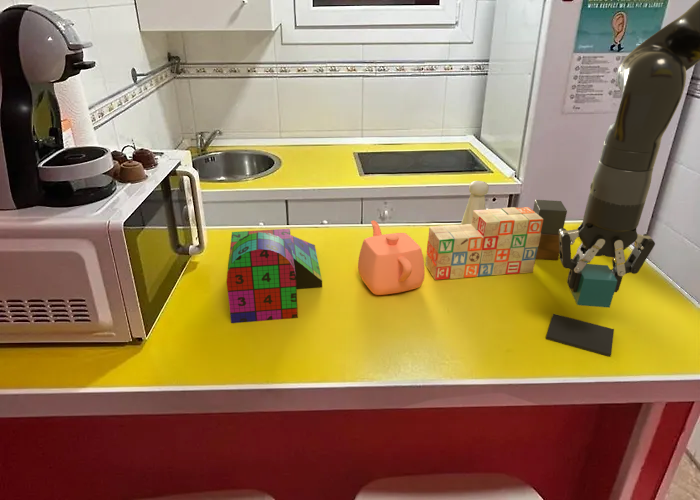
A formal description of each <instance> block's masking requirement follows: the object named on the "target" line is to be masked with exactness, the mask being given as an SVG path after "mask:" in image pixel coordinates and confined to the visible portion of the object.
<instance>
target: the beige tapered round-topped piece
mask: <svg viewBox="0 0 700 500" xmlns="http://www.w3.org/2000/svg"><path fill="white" fill-rule="evenodd" d="M468 192H469V193H470V195H469V198H468V202H467V204H466V207H465V211H464V213H463V217H462V219H461V223H460V225H465V224H471V221H472V215H473V210H486V197H485V195H487V194H488V192H489V184H488V183H487V182H486V181H482V180H474V181H471V182H470V183H469V186H468Z"/></svg>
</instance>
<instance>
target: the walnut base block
mask: <svg viewBox="0 0 700 500" xmlns="http://www.w3.org/2000/svg"><path fill="white" fill-rule="evenodd" d="M559 259H560V254H559V235H558V234H541V237H540V241H539V246H538V249H537V253H536V258H535V260H547V261H559Z"/></svg>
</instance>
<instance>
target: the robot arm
mask: <svg viewBox="0 0 700 500" xmlns="http://www.w3.org/2000/svg"><path fill="white" fill-rule="evenodd" d="M699 62H700V0H697V1H696V2H695V3H694V4H693V5H691V6H690V7H689V8H688V9H687V10H686V11H685V12H684V13H683V14H681V15H680V16H679V17H677V18H676V19H673V21H671V22H669V23H668V24H667V25H665V26H663V27H662V28H661V29H659V30H658V31H656V32H655V33H654V34H652V35H651V36H650V37H648V38H647V39H645V40H644V41H642V43H640V44H639V45H637V46H636V47H635V48H634V49H633V50H632V51H631V52H630V53H628V54H627V56H626V57H625V58H624V59H623V60H622V62H621V63H620V65H619V67H618V70H617V72H616V84H617V87H618V89H619V91H620V93H621V98H620V102H619V106H618V110H617V113H616V117H615V120H614V121H613V122H612V123H611V124H610V125H609V127H608V129H607V132H606V133H605V137H604V141H603V145H602V148H601V153H600V157H599V160H598V164H597V166H596V168H595V172H594V173H593V177H592V181H591V183H590V186H589V194H588V198H587V202H586V205H585V210H584V212H583V213H584V214H583V219H582V222H581V223H580V225H579V226H578V227H577V228H576V229H568V230H567V229H566V228H561V229H560V230H559V232H558V233H559V260H560V263H561V265H562V267H563V268H564V269H566V270H567V269H569V271H568V275H567V279H566V284H567V286H568V288H569V290H570V289H571V291H572V292H577V290H578V286H579V282H580V278H581V275H582V273H581V271H582V270H583V268H584V267H585V266H586V264H591V262H592V261H593V260H594V258H595V257H607V258H610V259H611V265H612V268H610V270H611V271H612V273H613V275H614V276H615V278H616V279H617V284H616V288H615V291H614V293H618V292H619V290H620V288H621V284H622V281H623V276H625V275H626V274H630V273H631V274H633V275H634V274H638V273H639V271H640V270H641V268H642V267H643V265H644V264H645V262H646V261H647V259H648V257H649V256H650V254H651V252H652V251H653V249H654V247H655V245H656V243H655V241H654V239H653V238H652V237H651V236H650V235H649V234H648V233H643V234H640V233H638V231H637V228H638V227H639V224H640V221H641V217H642V214H643V211H644V208H645V204H646V201H647V198H648V194H649V191H650V187H651V183H652V178H653V171H654V167H655V164H656V161H657V157H658V154H659V151H660V147H661V143H662V138H663V136H664V134H665V132H666V131H667V129H668V127H669V125H670V123H671V122H672V120H673V117H674V115H675V113H676V111H677V109H678V107H679V104H680V102H681V99H682V98H683V94H684V91H685V87H686V81H687V71H688V70H690V69H691V68H693V67H694V66H695V65H696V64H698V63H699ZM577 238H579V240H580V241H581V243H580V245H579V246H578V247H577V250H576V253H575V254H574V255H573V257H572V249H571V248H572V247H571V246H572V245H574V244H575V242H576V239H577ZM632 244H633V245H634V247H633V249H632V250H631V252H630V254H629V256H628V257H627V259H626V257H625V250H626V249H627V248H629V247H630V246H631V245H632ZM571 291H570V292H571Z"/></svg>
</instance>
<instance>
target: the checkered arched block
mask: <svg viewBox="0 0 700 500" xmlns="http://www.w3.org/2000/svg"><path fill="white" fill-rule="evenodd" d="M230 236H231V238H230V246H229V253H228V262H227V271H226V288H227V296H228V297H227V298H228V305H229V313H230V322H231V324H237V323H238V324H239V323H248V322H263V321H274V320H286V319H288V320H289V319H298V316H299V315H298V313H299V312H298V294H297V293H298V292H297V290H302V289H303V290H304V289H317V288H323V279H322V274H321V268H320V265H319V259H318V255H317V249H316V245H315V244H313V243H310V242H308V241H306V240H304V239H301V238H298V237H297V236H295V235H292V234H291V228H278V229H277V228H276V229H275V228H274V229H260V230H258V229H257V230H244V231H243V230H241V231H231V235H230Z"/></svg>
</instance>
